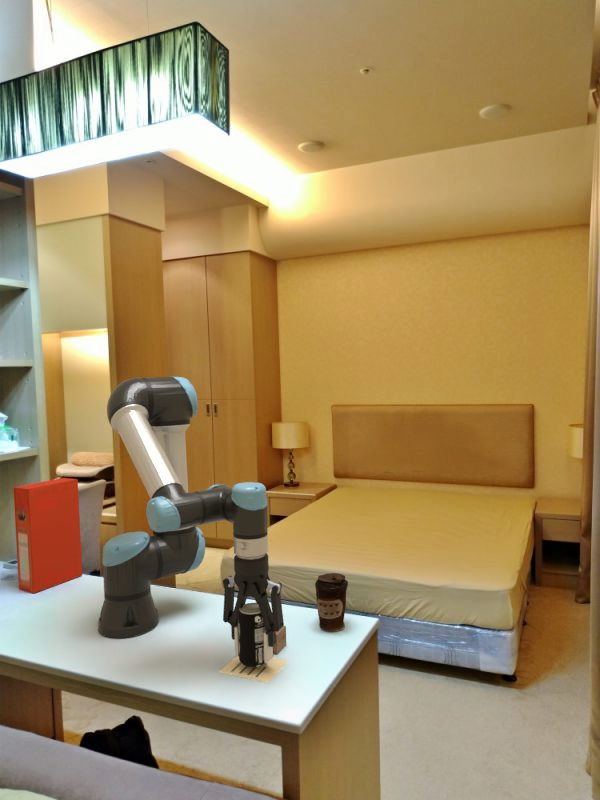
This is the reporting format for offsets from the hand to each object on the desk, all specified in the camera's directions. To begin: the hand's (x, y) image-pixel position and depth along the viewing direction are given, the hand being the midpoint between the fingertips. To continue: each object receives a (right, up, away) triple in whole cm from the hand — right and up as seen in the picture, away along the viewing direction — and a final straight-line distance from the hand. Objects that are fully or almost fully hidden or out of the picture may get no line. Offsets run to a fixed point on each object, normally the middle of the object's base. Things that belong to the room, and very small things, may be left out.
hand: (254, 656), depth 126 cm
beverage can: (0, -1, 0) cm, 1 cm away
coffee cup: (+18, -1, +19) cm, 27 cm away
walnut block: (+4, -2, +8) cm, 9 cm away
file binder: (-69, -2, +56) cm, 89 cm away
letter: (0, -2, 0) cm, 2 cm away
